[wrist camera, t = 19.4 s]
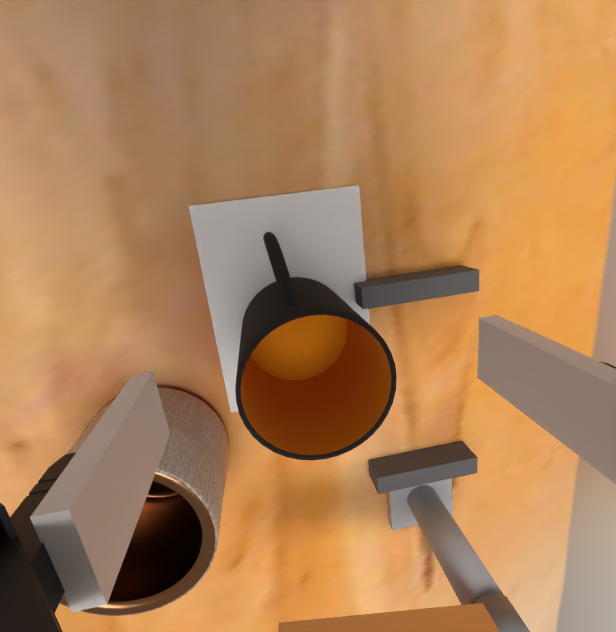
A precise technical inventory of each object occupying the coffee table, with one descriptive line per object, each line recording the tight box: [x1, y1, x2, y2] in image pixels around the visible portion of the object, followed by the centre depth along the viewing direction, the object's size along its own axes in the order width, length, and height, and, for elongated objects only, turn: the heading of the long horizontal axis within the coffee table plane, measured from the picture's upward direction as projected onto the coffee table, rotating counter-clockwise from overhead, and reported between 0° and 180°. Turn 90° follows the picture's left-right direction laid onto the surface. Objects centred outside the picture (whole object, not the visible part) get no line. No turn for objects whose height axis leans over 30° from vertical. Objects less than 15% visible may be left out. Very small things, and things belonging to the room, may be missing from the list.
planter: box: [60, 387, 229, 616], centre depth 25 cm, size 11×11×10 cm
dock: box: [354, 266, 503, 605], centre depth 27 cm, size 24×9×11 cm, turn 7°
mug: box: [235, 232, 396, 460], centre depth 23 cm, size 8×12×10 cm
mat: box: [189, 185, 370, 412], centre depth 28 cm, size 16×12×1 cm
